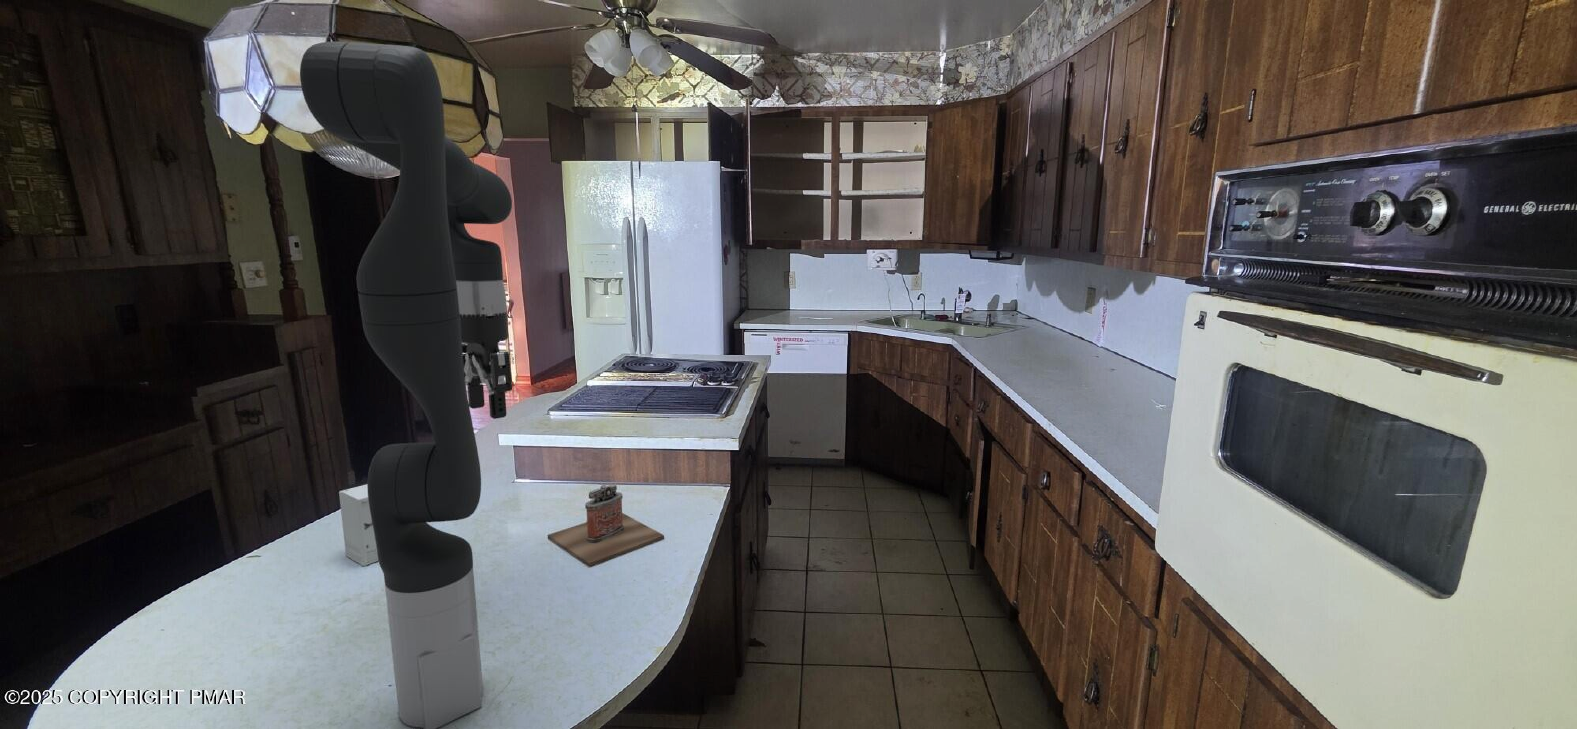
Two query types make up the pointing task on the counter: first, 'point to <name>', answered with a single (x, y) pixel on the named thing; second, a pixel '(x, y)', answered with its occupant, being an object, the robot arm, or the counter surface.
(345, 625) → the counter surface
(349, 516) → the supplement box
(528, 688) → the counter surface
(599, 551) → the board
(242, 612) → the counter surface
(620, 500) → the lighter
